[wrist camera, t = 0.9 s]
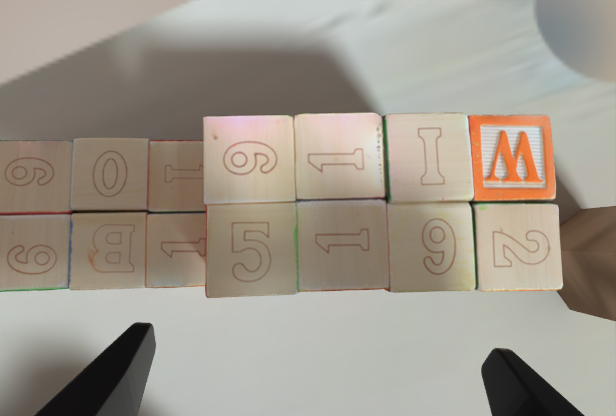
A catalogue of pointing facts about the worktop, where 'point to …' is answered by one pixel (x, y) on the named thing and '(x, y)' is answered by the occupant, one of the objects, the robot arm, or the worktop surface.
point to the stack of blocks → (288, 207)
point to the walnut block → (589, 262)
